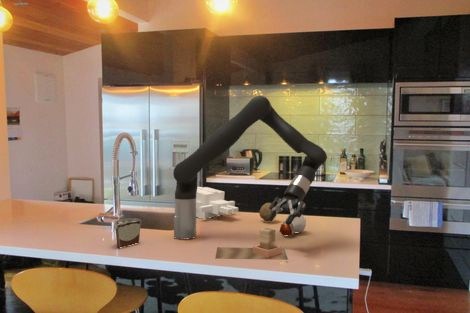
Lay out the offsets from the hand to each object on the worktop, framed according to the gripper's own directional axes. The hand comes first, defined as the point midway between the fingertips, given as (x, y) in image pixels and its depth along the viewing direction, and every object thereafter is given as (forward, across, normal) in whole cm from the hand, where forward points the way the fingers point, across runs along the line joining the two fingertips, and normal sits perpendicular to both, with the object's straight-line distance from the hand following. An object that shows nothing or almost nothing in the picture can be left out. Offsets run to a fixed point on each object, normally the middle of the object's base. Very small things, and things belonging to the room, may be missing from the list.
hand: (278, 222), depth 164 cm
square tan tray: (+12, 0, +4) cm, 12 cm away
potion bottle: (-11, -15, +29) cm, 34 cm away
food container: (+35, -50, -17) cm, 63 cm away
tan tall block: (+12, 0, +4) cm, 12 cm away
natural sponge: (-18, -38, +36) cm, 55 cm away
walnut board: (+16, -4, +2) cm, 17 cm away
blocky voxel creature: (-8, -66, +26) cm, 71 cm away
